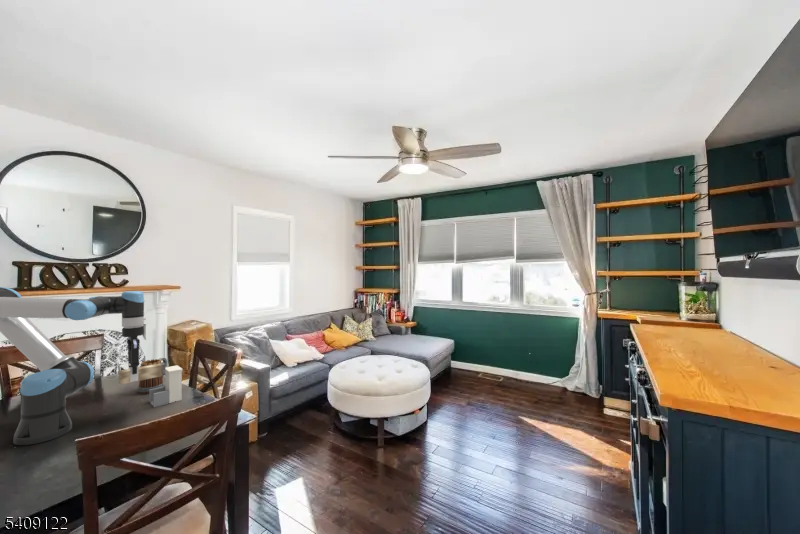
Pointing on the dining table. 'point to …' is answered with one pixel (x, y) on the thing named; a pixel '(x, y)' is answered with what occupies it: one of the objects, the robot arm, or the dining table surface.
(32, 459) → the dining table surface
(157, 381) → the mug
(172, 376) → the u-notched block
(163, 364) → the rail
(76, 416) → the dining table surface
